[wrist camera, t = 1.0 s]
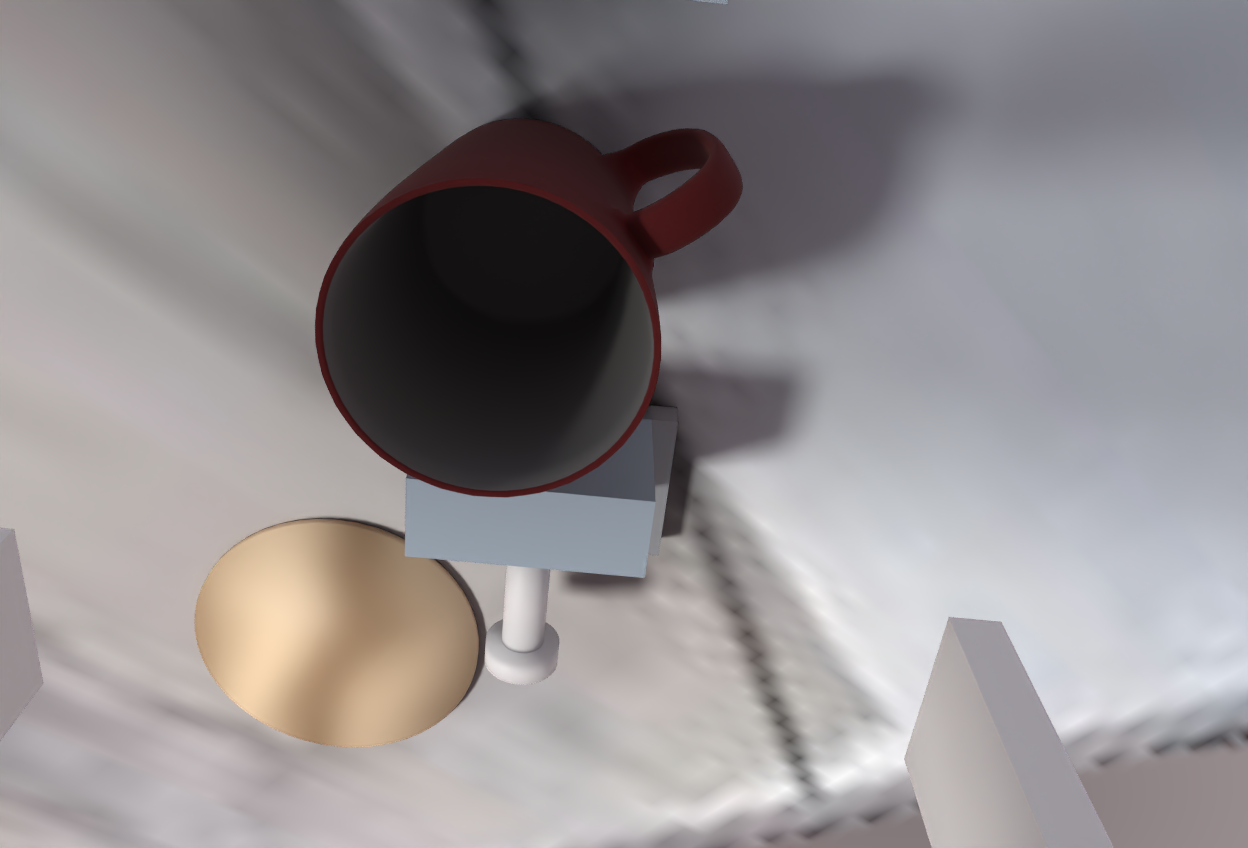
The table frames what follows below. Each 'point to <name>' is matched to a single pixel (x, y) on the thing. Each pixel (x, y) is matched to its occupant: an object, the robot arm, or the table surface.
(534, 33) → the table surface
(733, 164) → the mug
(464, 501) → the vise
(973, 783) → the robot arm
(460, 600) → the coaster
